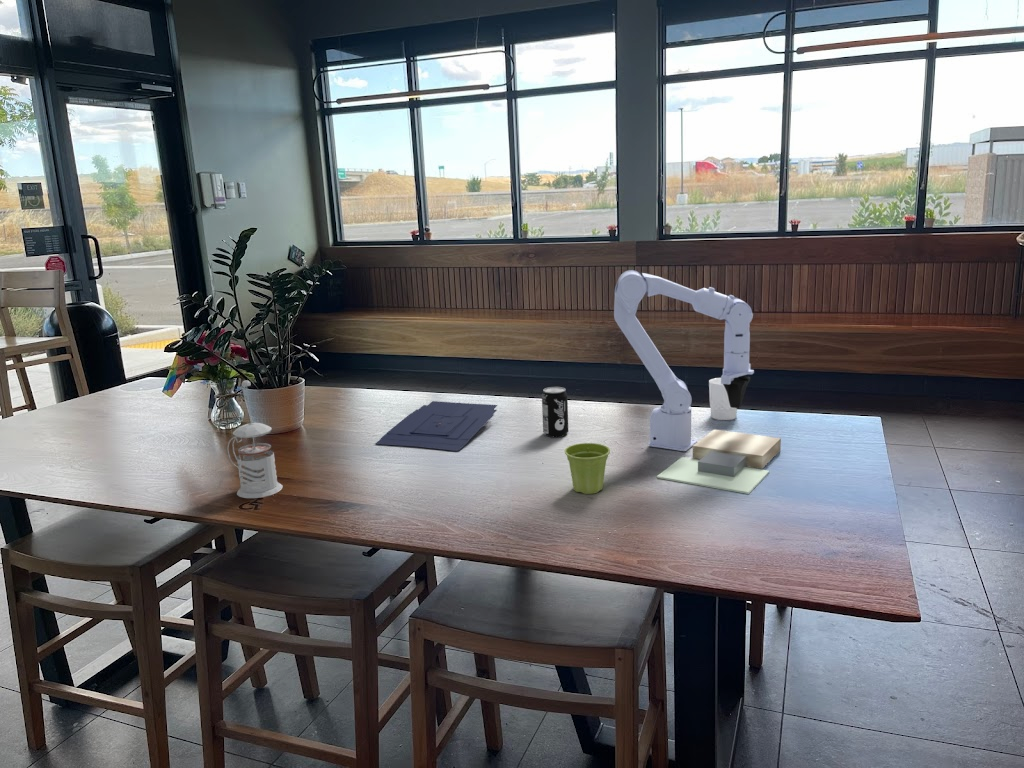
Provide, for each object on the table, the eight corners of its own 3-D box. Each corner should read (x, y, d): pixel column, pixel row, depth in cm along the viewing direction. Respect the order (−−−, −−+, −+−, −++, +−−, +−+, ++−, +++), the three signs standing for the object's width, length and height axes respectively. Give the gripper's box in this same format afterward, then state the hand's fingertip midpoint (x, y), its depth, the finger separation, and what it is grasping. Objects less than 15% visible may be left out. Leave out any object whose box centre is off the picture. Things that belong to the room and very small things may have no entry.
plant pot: (616, 494, 160) (615, 454, 158) (571, 499, 158) (570, 459, 156) (603, 479, 169) (602, 441, 167) (561, 483, 167) (560, 445, 165)
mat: (656, 477, 168) (656, 476, 168) (681, 458, 179) (681, 457, 179) (748, 494, 157) (748, 492, 157) (769, 472, 168) (769, 470, 168)
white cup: (715, 411, 215) (715, 376, 213) (743, 415, 211) (743, 379, 208) (703, 418, 209) (704, 382, 207) (732, 422, 204) (733, 385, 202)
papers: (505, 414, 218) (503, 402, 217) (460, 461, 192) (458, 447, 191) (428, 409, 227) (426, 397, 226) (375, 453, 201) (373, 440, 200)
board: (692, 458, 179) (692, 445, 178) (714, 441, 190) (714, 429, 190) (762, 468, 170) (762, 455, 170) (780, 450, 181) (780, 438, 181)
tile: (697, 471, 170) (697, 461, 169) (710, 460, 176) (711, 450, 176) (733, 477, 165) (734, 467, 165) (745, 465, 172) (746, 456, 171)
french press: (264, 500, 166) (249, 386, 160) (220, 495, 170) (204, 384, 164) (291, 483, 175) (278, 376, 169) (249, 479, 179) (235, 374, 173)
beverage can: (573, 432, 203) (571, 387, 200) (560, 439, 197) (559, 393, 195) (551, 429, 206) (549, 385, 203) (538, 436, 201) (536, 391, 198)
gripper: (743, 358, 174) (741, 416, 177) (763, 346, 185) (762, 401, 188) (712, 356, 178) (711, 413, 181) (734, 344, 189) (733, 398, 192)
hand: (735, 407), depth 185 cm, fingers closed
